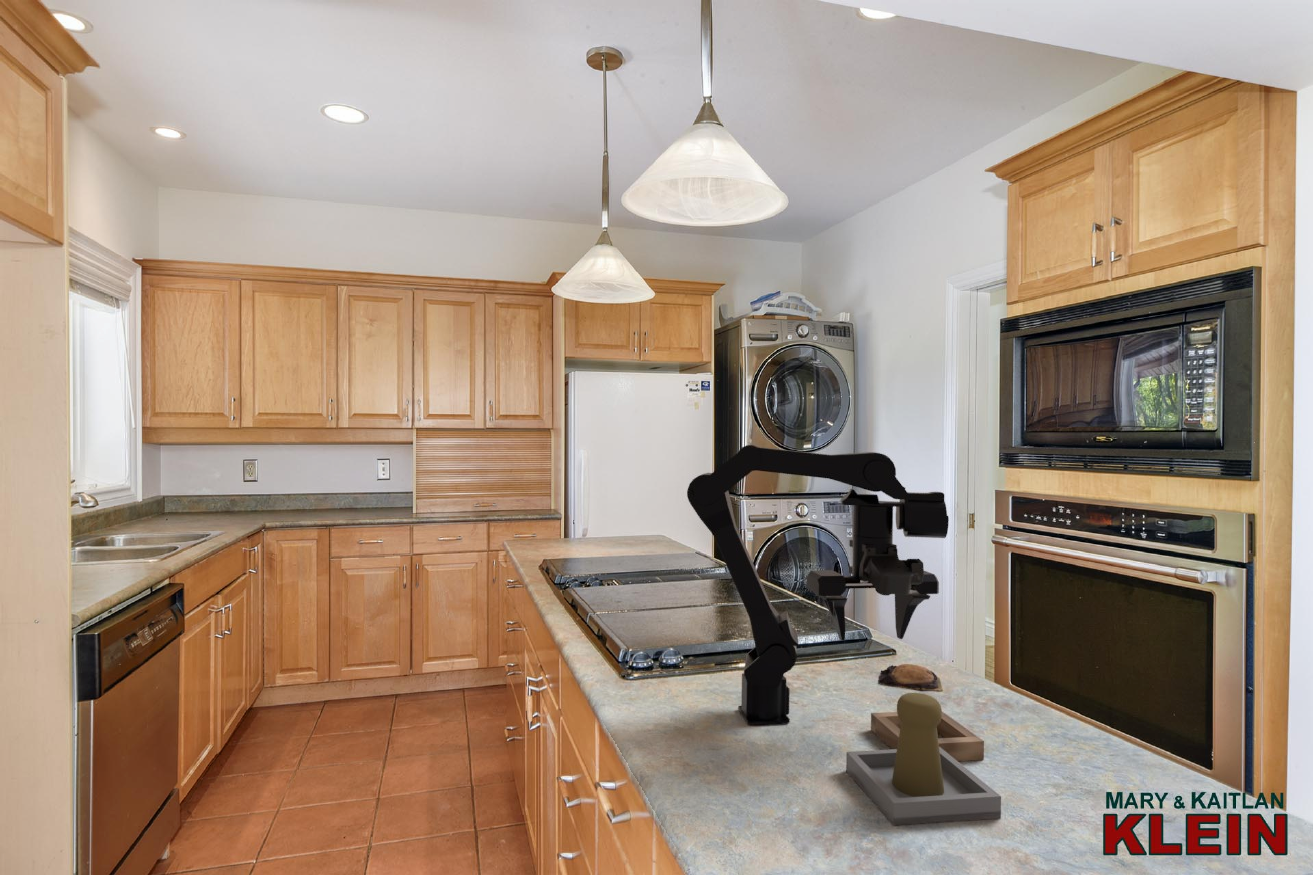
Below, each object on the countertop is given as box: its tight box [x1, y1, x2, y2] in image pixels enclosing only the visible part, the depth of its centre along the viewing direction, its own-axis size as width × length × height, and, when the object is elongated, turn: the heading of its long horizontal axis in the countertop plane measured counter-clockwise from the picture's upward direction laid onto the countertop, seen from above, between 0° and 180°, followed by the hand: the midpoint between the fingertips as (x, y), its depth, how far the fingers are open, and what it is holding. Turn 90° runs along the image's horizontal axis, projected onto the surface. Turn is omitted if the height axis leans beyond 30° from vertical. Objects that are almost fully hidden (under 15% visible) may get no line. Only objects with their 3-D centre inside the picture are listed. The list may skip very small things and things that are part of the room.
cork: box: [892, 692, 944, 797], centre depth 87 cm, size 6×6×11 cm
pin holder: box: [870, 711, 985, 762], centre depth 101 cm, size 11×11×2 cm
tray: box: [845, 747, 1002, 826], centre depth 87 cm, size 13×13×2 cm
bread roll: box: [878, 663, 944, 692], centre depth 127 cm, size 11×8×4 cm
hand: (871, 639), depth 107 cm, fingers open, 9 cm apart
